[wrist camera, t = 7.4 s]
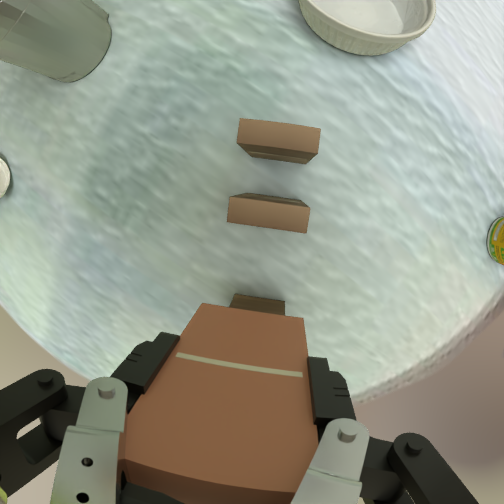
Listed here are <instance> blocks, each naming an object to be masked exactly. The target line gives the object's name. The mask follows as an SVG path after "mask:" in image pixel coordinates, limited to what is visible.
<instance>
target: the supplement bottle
mask: <svg viewBox="0 0 504 504" xmlns="http://www.w3.org/2000/svg"><path fill="white" fill-rule="evenodd" d="M487 247H488V251H489V254H490V256H491V257H492V259H493V260H495V261H496V262H498V263H500V264H502V265H504V217H500V218H498V219H497V220H496V221H495V222H494V223H493V224H492V226H491V228H490V230H489V233H488V239H487Z"/></svg>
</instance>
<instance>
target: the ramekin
mask: <svg viewBox="0 0 504 504" xmlns="http://www.w3.org/2000/svg"><path fill="white" fill-rule="evenodd" d="M299 4H300V9H301V11H302V14H303V17H304V18H305V19H306V22H307V24H308V25H309V26H310V27H311V29H312V30H313V31H315V33H316V34H317V35H319V36H320V37H321V38H322V39H323V40H325V41H326V42H328V43H329V44H332V45H333V46H335V47H337V48H339V49H341V50H344V51H347V52H350V53H354V54H360V55H370V56H371V55H380V54H386V53H388V52H392V51H394V50H396V49H398V48H399V47H401V46H403V45H404V44H406V43H407V42H408V41H411V40H413V39H416V38H418V37H419V36H421V35H422V34H423V33H424V32H425V31H426V30H427V29H428V28H429V26H430V25H431V24H432V22H433V20H434V17H435V13H436V4H435V0H299Z"/></svg>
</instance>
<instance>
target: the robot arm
mask: <svg viewBox="0 0 504 504" xmlns="http://www.w3.org/2000/svg"><path fill="white" fill-rule="evenodd" d="M108 15H109V14H107V13H106V12H105V11H104V10H103V9H101V8H100V7H99V6H98V5H97V4H95V3H94V2H93V1H92V0H0V60H1V61H4V62H8V63H11V64H14V65H17V66H20V67H23V68H26V69H29V70H31V71H34V72H37V73H40V74H43V75H45V76H48V77H50V78H53V79H56V80H59V81H62V82H73V81H77V80H79V79H81V78H83V77H84V76H86V75H87V74H88V73H90V72H91V71H92V70H93V69H94V68H95V67H96V66H97V65H98V63H99V62H100V61H101V60H102V58H103V56H104V55H105V53H106V51H107V49H108V47H109V43H110V40H111V29H110V26H109V24H108V22H107V18H108ZM179 340H180V336H179V335H174V334H170V333H165V332H160V334H159V335H158V336H157V337H156V339H155V340H154V341H153V342H150V341H145V342H143V343H141V344H139V345H137V346H136V347H135V348H134V349H133V350H132V352H131V354H129V355H128V356H127V357H126V360H124V361H123V362H122V363H121V364H120V366H119V367H118V368H117V369H116V370H115V371H114V373H113V374H112V375H111V376H110V377H100V378H96V379H94V380H92V381H90V382H89V383H88V385H87V387H79V386H71V385H66V384H65V380H64V377H63V375H62V374H61V373H60V372H57V371H55V370H52V369H42V370H38V371H35V372H33V373H31V374H30V375H28V376H26V377H24V378H22V379H20V380H18V381H17V382H15V383H13V384H11V385H9V386H7V387H5V388H3V389H2V390H0V504H7V498H8V497H9V496H11V495H12V494H13V493H15V492H16V491H18V490H19V489H20V488H22V487H23V486H24V485H26V484H27V483H28V482H30V481H31V480H32V479H33V478H35V477H36V476H37V475H39V474H40V473H42V472H43V471H44V470H46V469H47V468H48V467H49V466H51V465H52V464H53V463H55V462H56V461H57V460H59V461H58V465H57V470H56V474H55V479H54V484H53V490H52V495H51V501H50V504H184V503H182V502H180V501H178V500H176V499H174V498H172V497H170V496H168V495H166V494H164V493H161V492H158V491H155V490H151V489H148V488H145V487H142V486H139V485H136V484H133V483H131V480H130V476H129V473H128V469H127V465H126V461H125V447H126V432H127V419H128V414H129V413H130V411H131V410H132V408H133V406H134V405H135V403H136V402H137V400H138V399H139V397H140V396H141V394H143V395H145V393H146V392H147V390H148V388H149V387H150V385H151V384H152V382H153V381H154V379H155V378H156V376H157V374H158V373H159V371H160V370H161V368H162V367H163V365H164V364H165V362H166V360H167V359H168V357H169V356H170V354H171V353H172V351H173V350H174V348H175V347H176V345H177V343H178V342H179ZM307 368H308V377H309V386H310V396H311V405H312V415H313V425H317V434H318V444H319V446H318V448H317V450H316V452H315V455H314V457H313V459H312V461H311V464H310V466H309V468H308V469H307V471H306V474H305V476H304V478H303V480H302V482H301V484H300V486H299V488H298V490H297V492H296V494H295V496H294V498H293V500H292V502H291V504H357V503H358V499H359V497H362V498H363V500H364V502H365V504H414V503H415V504H479V503H478V502H477V501H476V499H475V498H474V497H473V495H472V494H471V493H470V492H469V490H468V489H467V488H466V487H465V485H464V484H463V483H462V482H461V480H460V479H459V478H458V476H457V475H456V474H455V473H454V471H453V470H452V469H451V468H450V466H449V465H448V464H447V463H446V461H445V460H444V459H443V458H442V456H441V455H440V454H439V453H438V451H437V450H436V449H435V448H434V446H433V445H432V444H431V443H430V441H429V440H428V439H426V438H425V437H423V436H421V435H419V434H415V433H404V434H401V435H399V436H398V437H397V438H396V439H395V440H394V442H389V441H384V440H379V439H375V438H373V437H370V436H369V432H368V430H367V428H366V427H365V426H364V425H363V424H361V423H360V422H358V421H357V420H356V417H355V413H354V409H353V405H352V402H351V398H350V394H349V391H348V387H347V384H346V380H345V379H344V378H343V377H342V375H341V374H340V373H339V372H335V371H330V370H329V365H328V361H327V358H319V357H310V356H308V357H307ZM37 418H39V419H40V422H41V424H40V425H38V426H37V427H35V428H34V429H32V430H31V431H29V432H28V433H26V434H25V435H23V436H22V437H20V438H19V439H16V437H17V433H18V431H19V430H20V429H22V428H23V427H25V426H26V425H28V424H29V423H31V422H32V421H34V420H35V419H37ZM406 490H407V491H406ZM408 493H409V494H408ZM409 495H410V496H411V497H410V496H409ZM411 498H412V499H413V500H412V499H411ZM413 501H414V502H413Z"/></svg>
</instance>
